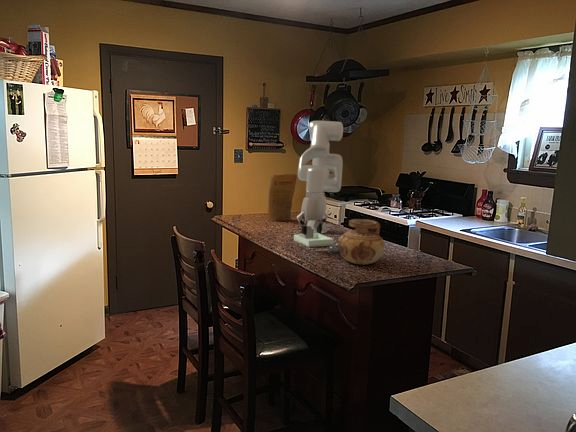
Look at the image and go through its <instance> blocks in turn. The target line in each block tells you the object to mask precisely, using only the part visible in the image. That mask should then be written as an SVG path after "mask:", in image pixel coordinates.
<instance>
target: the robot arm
mask: <svg viewBox="0 0 576 432" xmlns="http://www.w3.org/2000/svg"><path fill="white" fill-rule="evenodd" d="M343 125H344V124H343V123H342V122H341V121H332V120H331V121H330V120H312V121H310V122H309V124H308V132H309V136H310V137H311V139H310V140H311V141H310V147H309V148H307V149H306V150H305V151H304V152H303V153H302V154H301V156H300V157H299V160H298V165H297V166H298V167H297V168H298V169H297V178H298V180H300V181H302V182H306V183H305V184H306V187H305V197H303V200H302V204H301V209H300V213H299V214H297V216H296V219H297V221H298V223H299V224H300V225H301V234H304V235H306V234H307V226H311V228H312V227H313V225H314V223H315V221H316V220H318V221H320V223H319V225H318V227H317V229H316V230H315V229H314V232H313V233H319V234H326V233H328V229H331V228H333V224H332V223H326V221H327V219H328V218H329V214H327V213H326V212H327V211H326V210H327V198H326V196H325V195H326V193H325V192H327V193H338V192H340V191H341V188H342V178H343V177H342V176H343V165H344V163H343V157H342V155H341V154H338V153H330V141H332V142H333V141H335V142H339V141H341V140H342V138H343V135H344V126H343ZM311 160H312V161H311ZM310 161H311V162H312V164H307V163H308V162H310ZM330 172H331V173H330Z"/></svg>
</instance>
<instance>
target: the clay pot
mask: <svg viewBox="0 0 576 432" xmlns="http://www.w3.org/2000/svg"><path fill="white" fill-rule="evenodd" d="M348 226H349V227H352V228H355V229H351V230H347V231H346V232H344V233H342V235H341V236H339V239H338V242H337V243H338V246H339V251H340V256H341V257H342V258H343V259H344V260H345V261H347V262H349V263H352V264H354V265H359V266H365V265H372V264H374V263H376V262H378V260H380V258H381V257H382V255H383V253H384V250H385V242H384V239H383V237H381V236H380V229H381V224H380V222H378V221H377V220H373V219H365V218H363V219H362V218H353V219H349V220H348Z"/></svg>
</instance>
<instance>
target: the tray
mask: <svg viewBox="0 0 576 432" xmlns="http://www.w3.org/2000/svg"><path fill="white" fill-rule="evenodd" d="M293 241H295V242H297V243H299V244H301V245H302V246H305V247H307V248H313V247H327V246H328V247H329V245H332V244H335V242H334V241H335V239H334V238H332V237H329V236H327V235H323V233H321V234H320V233H313V238H304V234H302V233H298V234H297V233H296V234H294V235H293Z"/></svg>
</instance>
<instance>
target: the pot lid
mask: <svg viewBox="0 0 576 432" xmlns="http://www.w3.org/2000/svg"><path fill="white" fill-rule="evenodd" d="M338 243H339V242H337V243H334V244H332V245H329V246H328V251H329V252H330V253H332V254H336V255H337V254H340V251H339V246H338ZM340 255H341V254H340Z"/></svg>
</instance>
